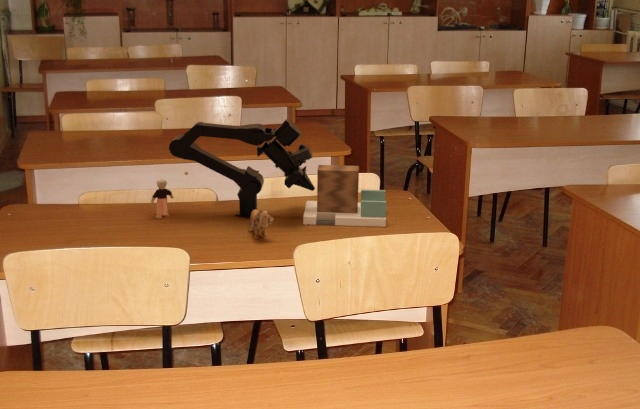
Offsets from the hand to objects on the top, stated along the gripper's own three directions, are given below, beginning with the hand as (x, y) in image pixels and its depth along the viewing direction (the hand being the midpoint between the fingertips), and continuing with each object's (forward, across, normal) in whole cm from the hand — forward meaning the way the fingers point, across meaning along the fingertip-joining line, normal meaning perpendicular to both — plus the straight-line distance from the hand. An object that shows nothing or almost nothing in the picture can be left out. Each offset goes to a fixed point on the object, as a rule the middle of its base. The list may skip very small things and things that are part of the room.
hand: (314, 189), depth 253 cm
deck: (+14, 0, -1) cm, 14 cm away
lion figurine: (-4, -17, +18) cm, 25 cm away
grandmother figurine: (-28, -4, +40) cm, 49 cm away
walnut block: (+10, 0, -1) cm, 10 cm away
